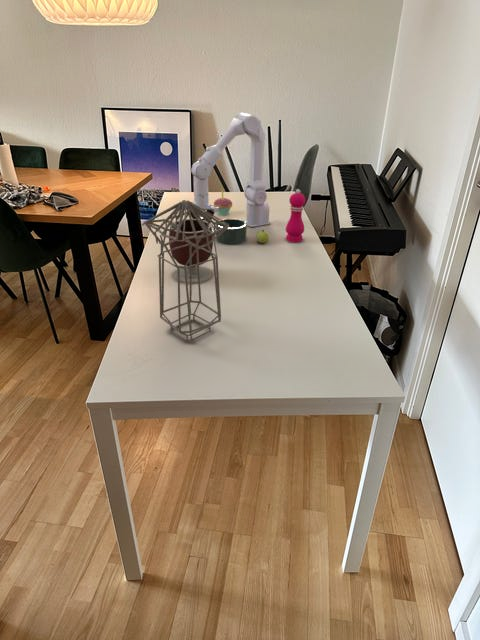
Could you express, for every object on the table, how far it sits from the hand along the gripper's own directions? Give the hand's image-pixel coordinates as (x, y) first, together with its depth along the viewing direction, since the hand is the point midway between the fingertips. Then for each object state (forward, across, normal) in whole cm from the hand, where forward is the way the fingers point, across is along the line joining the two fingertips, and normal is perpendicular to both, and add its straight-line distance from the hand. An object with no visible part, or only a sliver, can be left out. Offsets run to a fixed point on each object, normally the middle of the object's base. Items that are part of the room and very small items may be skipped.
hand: (202, 226), depth 184 cm
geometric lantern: (+2, +37, -68) cm, 78 cm away
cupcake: (+2, -3, +24) cm, 24 cm away
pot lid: (+1, 0, 0) cm, 1 cm away
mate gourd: (+2, +18, -39) cm, 43 cm away
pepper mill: (+2, +37, +9) cm, 38 cm away
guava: (+2, +28, 0) cm, 28 cm away
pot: (+2, +15, -3) cm, 15 cm away
